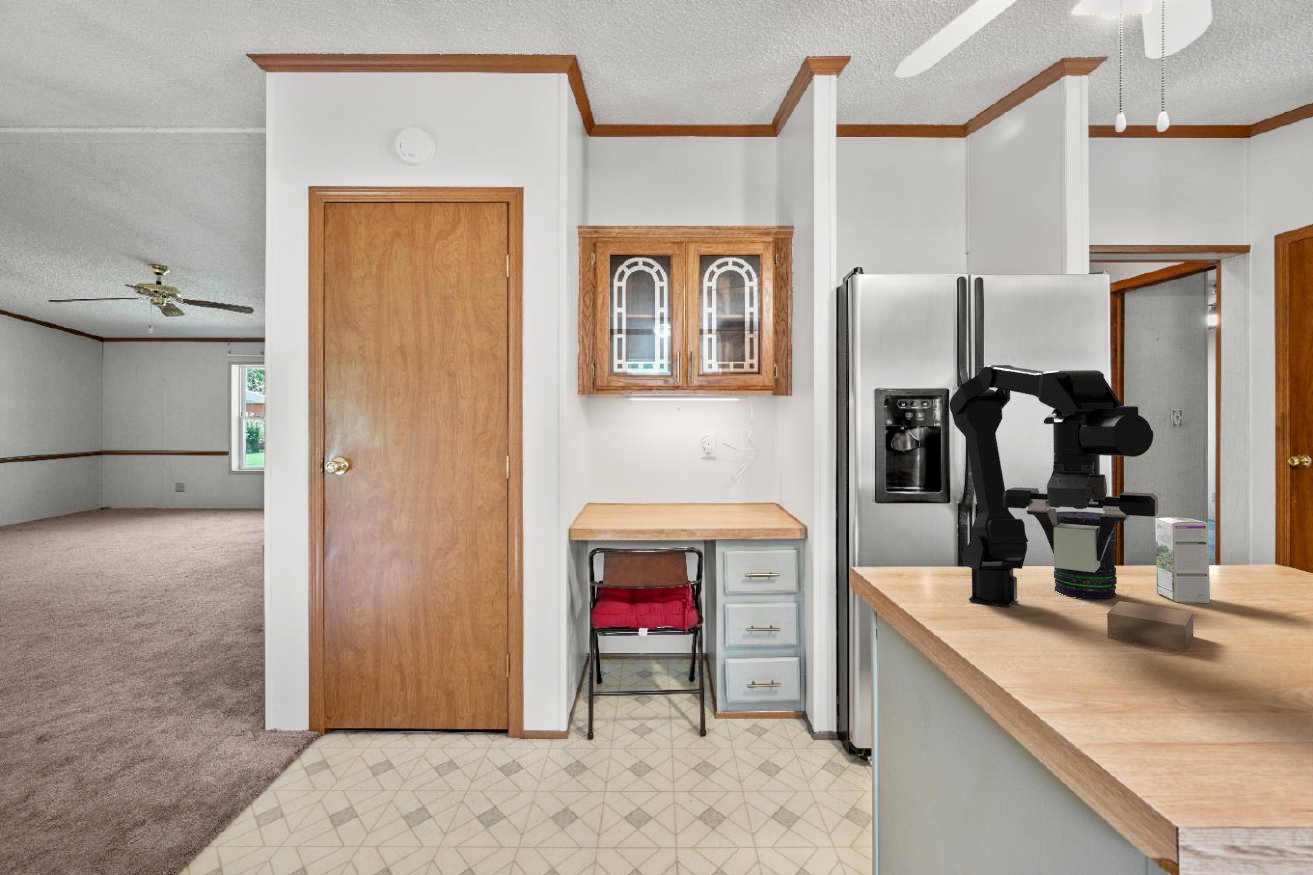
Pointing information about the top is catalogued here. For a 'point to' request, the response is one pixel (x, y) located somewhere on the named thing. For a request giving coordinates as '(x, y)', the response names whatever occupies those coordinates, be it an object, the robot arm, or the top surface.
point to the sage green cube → (1076, 547)
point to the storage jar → (1085, 582)
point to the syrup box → (1182, 559)
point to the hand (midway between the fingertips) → (1077, 558)
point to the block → (1150, 625)
